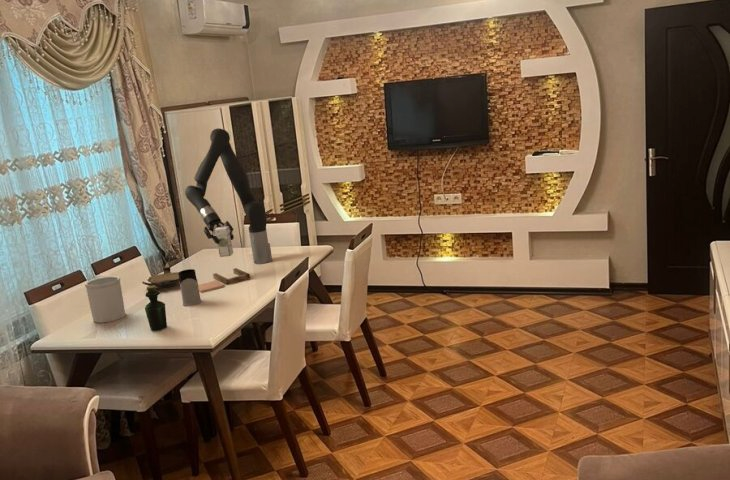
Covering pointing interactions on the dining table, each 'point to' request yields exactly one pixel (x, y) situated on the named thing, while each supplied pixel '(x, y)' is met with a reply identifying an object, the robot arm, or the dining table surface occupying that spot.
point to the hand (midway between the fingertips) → (225, 240)
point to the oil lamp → (164, 278)
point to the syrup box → (224, 241)
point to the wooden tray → (240, 277)
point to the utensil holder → (105, 298)
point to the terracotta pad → (210, 286)
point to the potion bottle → (155, 310)
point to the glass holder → (189, 287)
